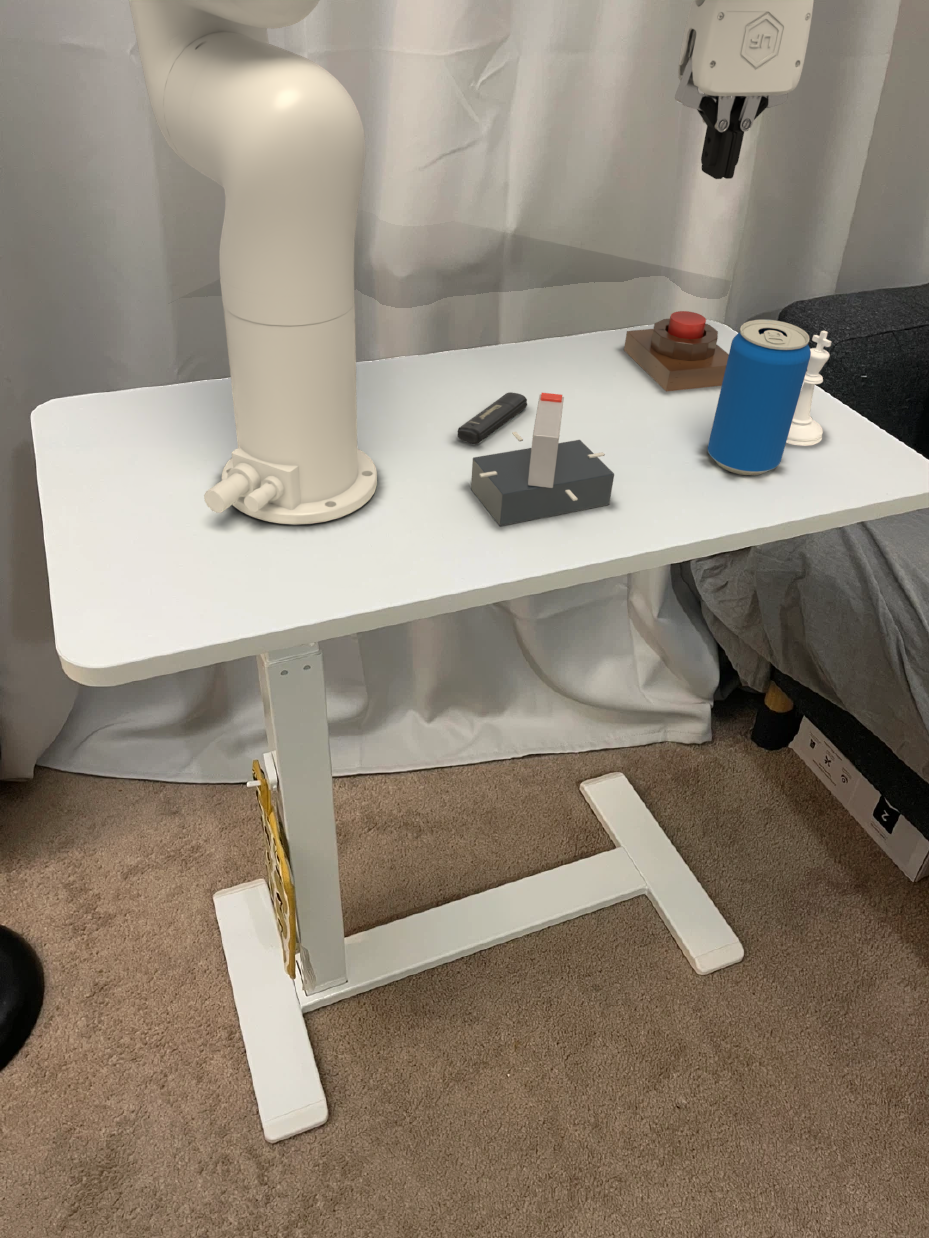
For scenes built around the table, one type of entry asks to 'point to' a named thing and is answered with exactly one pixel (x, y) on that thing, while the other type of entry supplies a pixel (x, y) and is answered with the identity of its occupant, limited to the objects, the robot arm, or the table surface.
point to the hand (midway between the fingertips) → (716, 174)
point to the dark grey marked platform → (515, 501)
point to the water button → (686, 325)
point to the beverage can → (759, 396)
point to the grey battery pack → (545, 440)
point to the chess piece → (809, 397)
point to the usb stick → (492, 418)
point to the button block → (678, 357)
